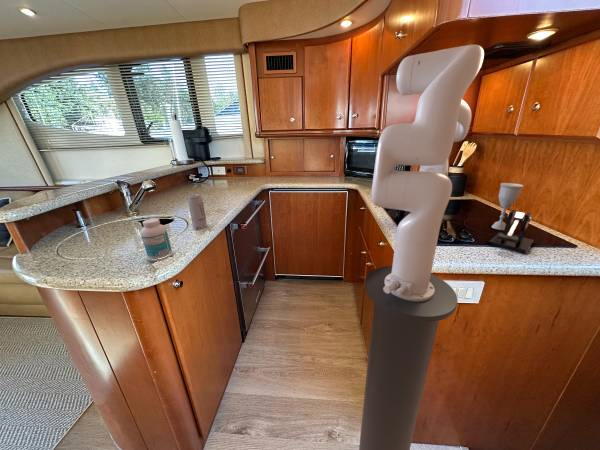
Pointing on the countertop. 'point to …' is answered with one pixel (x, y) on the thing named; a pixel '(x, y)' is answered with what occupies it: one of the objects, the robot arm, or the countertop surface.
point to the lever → (513, 228)
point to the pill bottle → (155, 240)
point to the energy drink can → (197, 211)
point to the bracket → (522, 244)
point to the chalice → (506, 201)
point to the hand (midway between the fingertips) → (429, 198)
